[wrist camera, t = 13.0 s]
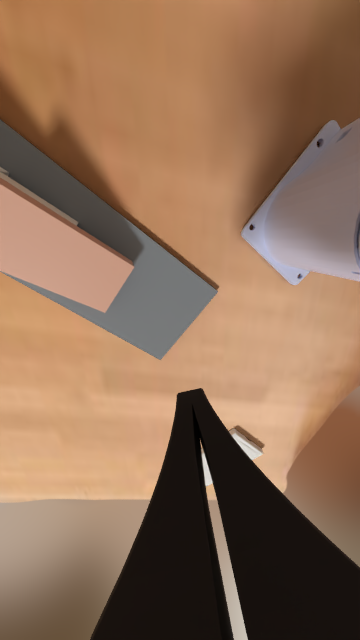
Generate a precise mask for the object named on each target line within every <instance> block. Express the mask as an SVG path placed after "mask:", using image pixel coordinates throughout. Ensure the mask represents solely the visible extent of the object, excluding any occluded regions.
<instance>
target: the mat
mask: <svg viewBox="0 0 360 640" xmlns="http://www.w3.org/2000/svg"><path fill="white" fill-rule="evenodd" d="M0 167H1V168H3V169H4V170H6V171H7V172H9V175H8V177H10V178H11V179H13V180H14V181H16V182H17V183H19V184H20V185H22V186H23V187H25V188H26V189H28V190H30V191H31V192H33V193H34V194H36V195H37V196H39V197H40V198H42V199H43V200H45V201H46V202H48V203H50V204H51V205H53V206H54V207H56V208H57V209H59V210H60V211H62V212H63V213H65V214H66V215H68V216H70V217H71V218H73V219H74V220H76V221H77V222H79V223H78V225H77V226H78V227H79V228H81V229H82V230H84V231H85V232H87V233H89V234H90V235H92V236H93V237H95V238H96V239H98V240H100V241H101V242H103V243H104V244H106V245H108V246H109V247H111V248H112V249H114V250H115V251H117V252H119V253H120V254H122V255H123V256H125V257H126V258H128V259H130V260H131V261H132V262H133V265H134V268H133V270H132V272H131V273H130V275H129V276H128V278H127V279H126V281H125V283H124V284H123V286H122V287H121V289H120V290H119V292H118V293H117V295H116V297H115V298H114V300H113V301H112V303H111V304H110V306H109V308H108V309H107V311H106V312H105V313H104V312H102V311H99V310H97V309H94V308H92V307H89V306H87V305H84V304H82V303H79V302H77V301H74V300H72V299H69V298H67V297H64V296H62V295H59V294H57V293H54V292H52V291H49V290H47V289H44V288H42V287H39V286H37V285H34V284H32V283H29V282H27V281H24V280H22V279H19V278H17V277H14V276H12V275H9V274H7V273H4V272H2V271H0V272H2V273H4V274H5V275H7V276H9V277H11V278H13V279H15V280H16V281H18V282H20V283H22V284H24V285H25V286H27V287H29V288H31V289H33V290H34V291H36V292H38V293H40V294H42V295H43V296H45V297H47V298H49V299H51V300H53V301H54V302H56V303H58V304H60V305H62V306H63V307H65V308H67V309H69V310H71V311H72V312H74V313H76V314H78V315H80V316H81V317H83V318H85V319H87V320H89V321H91V322H92V323H94V324H96V325H98V326H100V327H101V328H103V329H105V330H107V331H109V332H110V333H112V334H114V335H116V336H118V337H119V338H121V339H123V340H125V341H127V342H129V343H130V344H132V345H134V346H136V347H138V348H139V349H141V350H143V351H145V352H147V353H148V354H150V355H152V356H154V357H156V358H157V359H159V360H161V359H162V358H163V356H164V355H165V354H166V353H167V352H168V351H169V349H170V348H171V347H172V346H173V345H174V343H175V342H176V341H177V340H178V339H179V337H180V336H181V335H182V334H183V333H184V332H185V330H186V329H187V328H188V327H189V326H190V324H191V323H192V322H193V321H194V320H195V318H196V317H197V316H198V315H199V314H200V313H201V311H202V310H203V309H204V308H205V307H206V305H207V304H208V303H209V302H210V301H211V299H212V298H213V297H214V296H215V295H216V294H217V292H218V291H217V290H216V289H214V288H213V287H212V286H210V285H209V284H208V283H207V282H205V281H204V280H203V279H202V278H200V277H199V276H198V275H197V274H195V273H194V272H193V271H192V270H190V269H189V268H188V267H186V266H185V265H184V264H183V263H181V262H180V261H179V260H178V259H176V258H175V257H174V256H173V255H171V254H170V253H169V252H167V251H166V250H165V249H164V248H162V247H161V246H160V245H159V244H157V243H156V242H155V241H154V240H152V239H151V238H150V237H149V236H147V235H146V234H145V233H143V232H142V231H141V230H140V229H138V228H137V227H136V226H135V225H133V224H132V223H131V222H130V221H128V220H127V219H126V218H124V217H123V216H122V215H121V214H119V213H118V212H117V211H116V210H114V209H113V208H112V207H111V206H109V205H108V204H107V203H106V202H104V201H103V200H102V199H100V198H99V197H98V196H97V195H95V194H94V193H93V192H92V191H90V190H89V189H88V188H87V187H85V186H84V185H83V184H81V183H80V182H79V181H78V180H76V179H75V178H74V177H73V176H71V175H70V174H69V173H68V172H66V171H65V170H64V169H63V168H61V167H60V166H59V165H57V164H56V163H55V162H54V161H52V160H51V159H50V158H49V157H47V156H46V155H45V154H44V153H42V152H41V151H40V150H38V149H37V148H36V147H35V146H33V145H32V144H31V143H30V142H28V141H27V140H26V139H25V138H23V137H22V136H21V135H20V134H18V133H17V132H16V131H14V130H13V129H12V128H11V127H9V126H8V125H7V124H6V123H4V122H3V121H2V120H1V119H0Z"/></svg>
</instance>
